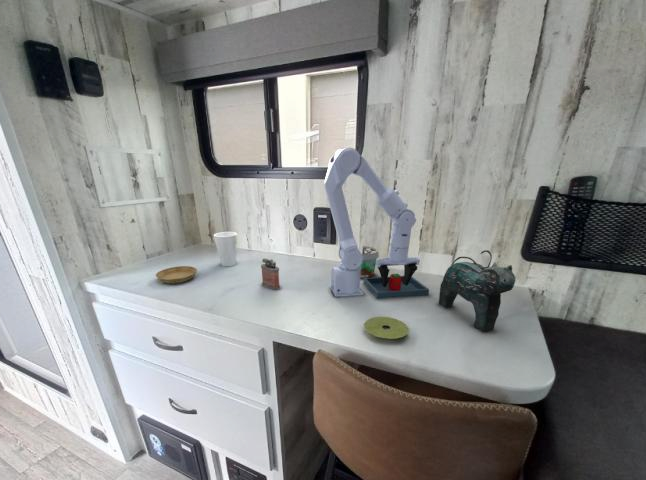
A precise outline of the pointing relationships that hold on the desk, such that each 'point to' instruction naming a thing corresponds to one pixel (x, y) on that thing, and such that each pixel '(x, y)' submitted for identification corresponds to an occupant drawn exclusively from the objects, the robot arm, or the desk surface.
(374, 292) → the tray
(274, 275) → the lighter
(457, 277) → the ceramic cat
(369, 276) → the food container
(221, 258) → the foam cup
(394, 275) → the strawberry
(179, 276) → the plant saucer
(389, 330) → the green disc
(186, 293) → the desk surface
